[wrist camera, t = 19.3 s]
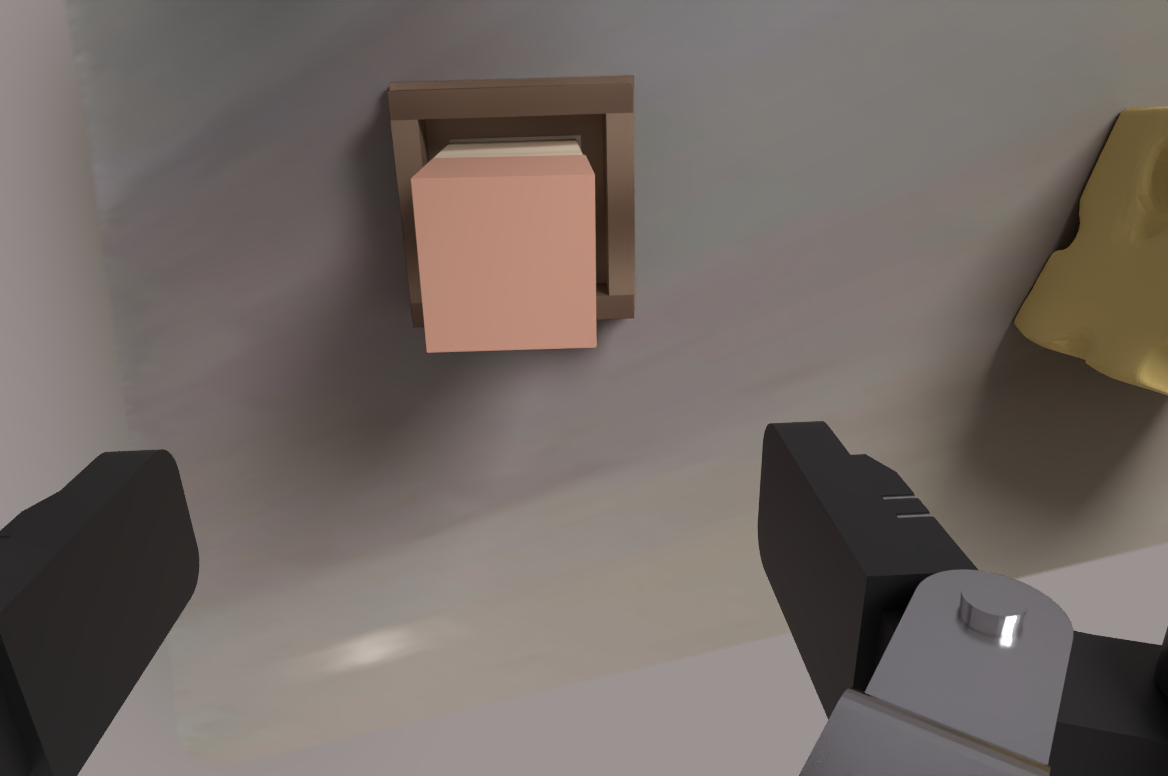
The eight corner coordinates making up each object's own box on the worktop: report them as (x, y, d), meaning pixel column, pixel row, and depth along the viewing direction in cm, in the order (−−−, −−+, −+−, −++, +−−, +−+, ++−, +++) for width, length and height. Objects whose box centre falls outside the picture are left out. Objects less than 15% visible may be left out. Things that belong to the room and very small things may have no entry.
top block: (433, 157, 27) (410, 178, 22) (585, 154, 27) (594, 174, 22) (445, 305, 29) (426, 352, 24) (587, 301, 29) (596, 347, 24)
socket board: (392, 82, 32) (379, 84, 30) (631, 75, 32) (639, 76, 30) (417, 313, 36) (407, 333, 33) (632, 304, 36) (640, 323, 33)
